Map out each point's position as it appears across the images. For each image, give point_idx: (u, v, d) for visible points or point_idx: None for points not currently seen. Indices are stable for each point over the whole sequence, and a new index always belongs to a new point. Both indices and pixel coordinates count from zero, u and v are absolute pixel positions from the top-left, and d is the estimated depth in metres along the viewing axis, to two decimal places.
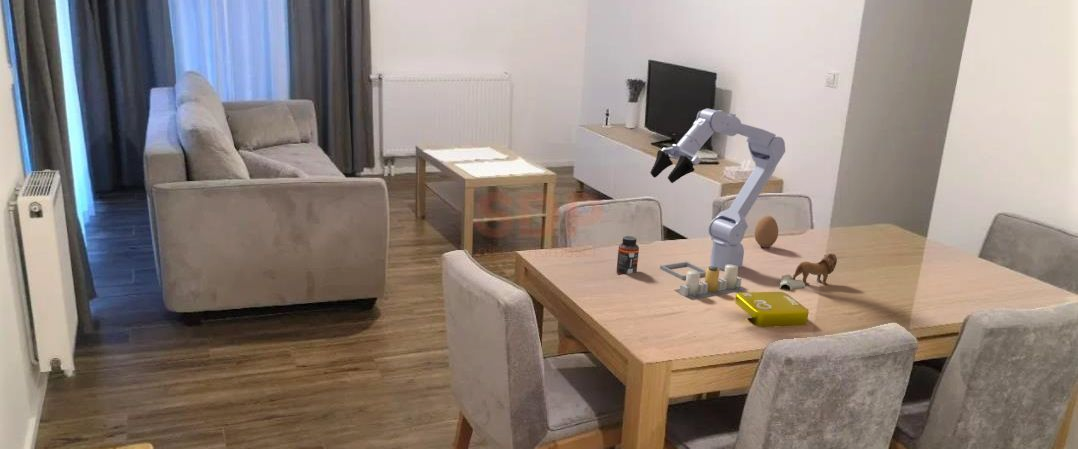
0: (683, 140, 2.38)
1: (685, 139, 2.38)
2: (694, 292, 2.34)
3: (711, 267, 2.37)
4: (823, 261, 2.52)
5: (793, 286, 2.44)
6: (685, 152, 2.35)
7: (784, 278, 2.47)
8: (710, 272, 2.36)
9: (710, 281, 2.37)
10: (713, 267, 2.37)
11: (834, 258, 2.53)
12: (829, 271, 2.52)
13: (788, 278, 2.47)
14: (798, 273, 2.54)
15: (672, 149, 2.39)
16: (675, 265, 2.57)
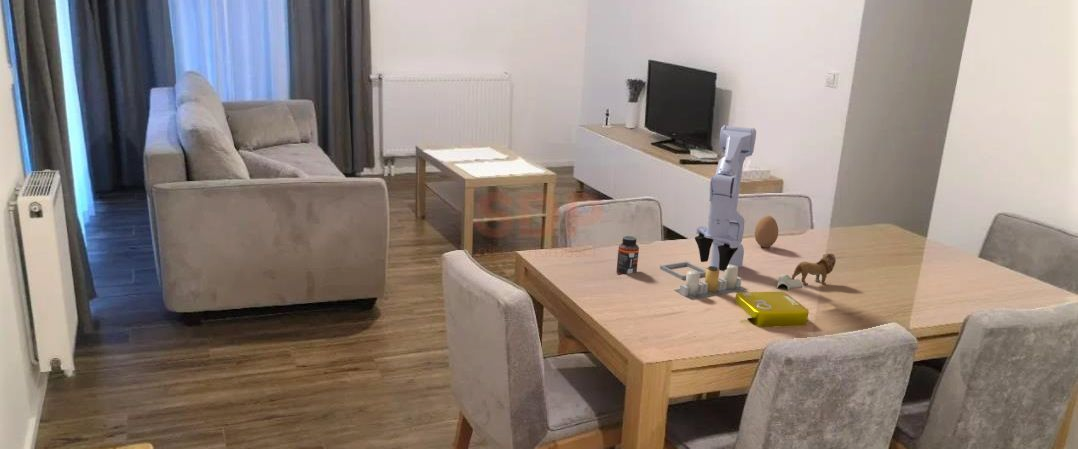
0: (711, 225, 2.32)
1: (712, 224, 2.32)
2: (694, 292, 2.34)
3: (711, 267, 2.37)
4: (822, 261, 2.52)
5: (791, 286, 2.44)
6: (720, 239, 2.31)
7: (782, 278, 2.48)
8: (710, 272, 2.36)
9: (710, 281, 2.37)
10: (713, 267, 2.37)
11: (833, 258, 2.53)
12: (828, 271, 2.52)
13: (786, 278, 2.47)
14: (797, 273, 2.54)
15: None
16: (675, 265, 2.57)
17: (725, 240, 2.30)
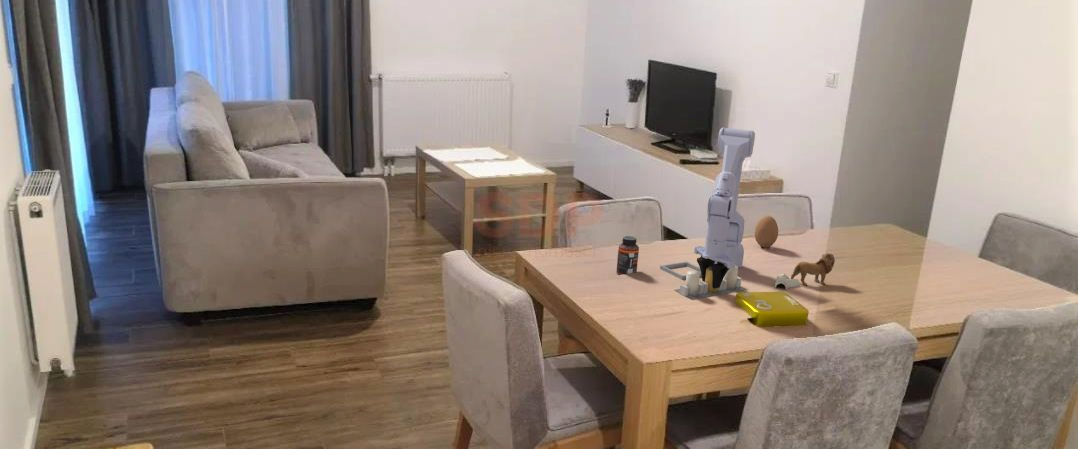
0: (708, 246, 2.34)
1: (709, 244, 2.33)
2: (694, 292, 2.34)
3: None
4: (821, 261, 2.52)
5: (788, 285, 2.45)
6: (717, 259, 2.33)
7: (780, 277, 2.48)
8: (710, 272, 2.36)
9: (710, 281, 2.37)
10: None
11: (832, 258, 2.53)
12: (827, 271, 2.52)
13: (784, 277, 2.48)
14: (796, 273, 2.53)
15: None
16: (675, 265, 2.57)
17: (722, 260, 2.32)
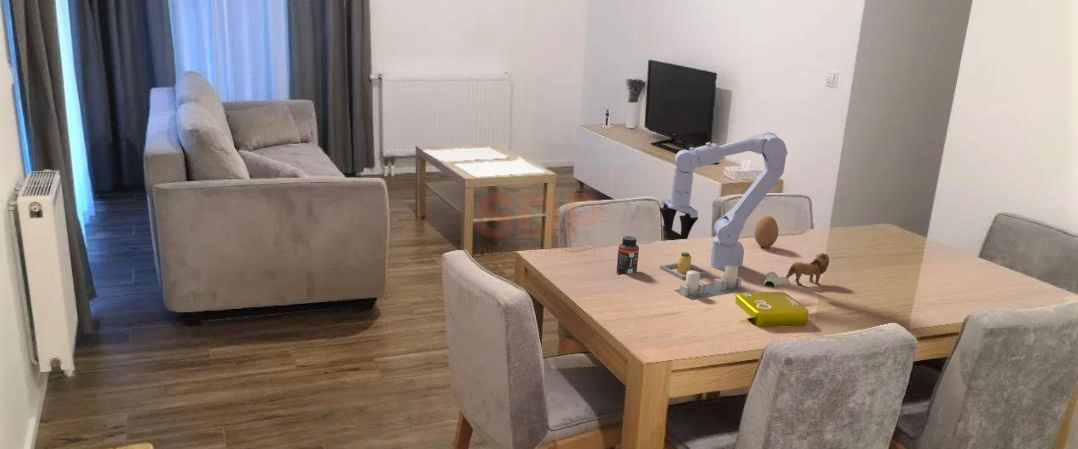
0: (674, 197, 2.54)
1: (675, 195, 2.53)
2: (694, 292, 2.34)
3: (683, 253, 2.51)
4: (816, 261, 2.52)
5: (777, 283, 2.46)
6: (681, 209, 2.52)
7: (769, 275, 2.49)
8: (683, 258, 2.50)
9: (683, 267, 2.51)
10: (685, 253, 2.52)
11: (826, 258, 2.52)
12: (822, 271, 2.52)
13: (773, 275, 2.49)
14: (791, 273, 2.53)
15: None
16: (675, 265, 2.57)
17: (686, 210, 2.51)
